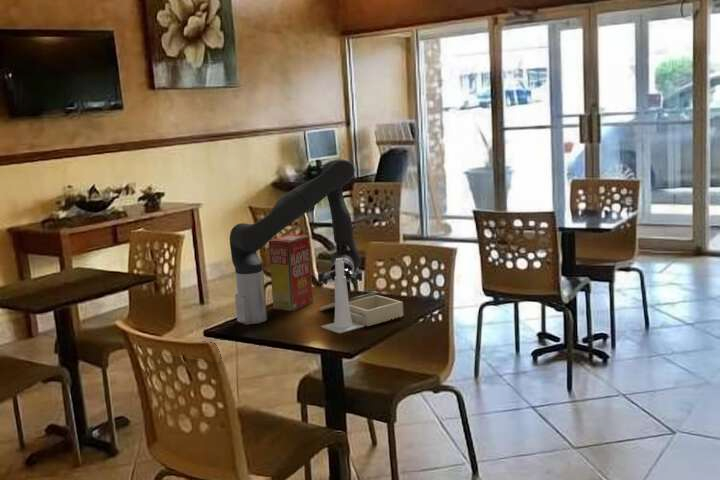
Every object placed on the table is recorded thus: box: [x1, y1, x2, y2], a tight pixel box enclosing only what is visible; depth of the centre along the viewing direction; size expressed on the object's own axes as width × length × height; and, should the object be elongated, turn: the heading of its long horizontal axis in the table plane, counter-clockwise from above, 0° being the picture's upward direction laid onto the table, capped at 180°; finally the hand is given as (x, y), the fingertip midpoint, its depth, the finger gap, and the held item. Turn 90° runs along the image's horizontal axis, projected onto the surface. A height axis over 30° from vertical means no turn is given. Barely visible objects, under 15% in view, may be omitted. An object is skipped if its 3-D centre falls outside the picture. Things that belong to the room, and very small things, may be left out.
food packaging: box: [268, 233, 314, 312], centre depth 278 cm, size 13×9×25 cm
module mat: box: [320, 321, 366, 334], centre depth 251 cm, size 10×10×1 cm
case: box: [348, 292, 404, 327], centre depth 259 cm, size 16×15×6 cm
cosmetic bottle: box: [333, 258, 353, 328], centre depth 249 cm, size 6×6×22 cm
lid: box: [319, 292, 374, 311], centre depth 271 cm, size 15×13×1 cm
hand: (338, 281), depth 246 cm, fingers open, 8 cm apart
